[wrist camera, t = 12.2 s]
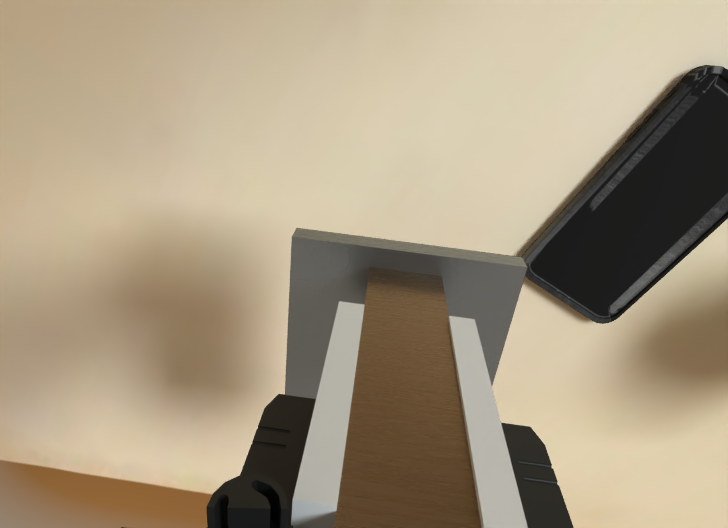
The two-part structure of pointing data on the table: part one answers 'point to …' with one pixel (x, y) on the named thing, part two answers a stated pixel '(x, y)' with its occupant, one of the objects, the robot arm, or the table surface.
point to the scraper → (399, 367)
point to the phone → (642, 204)
